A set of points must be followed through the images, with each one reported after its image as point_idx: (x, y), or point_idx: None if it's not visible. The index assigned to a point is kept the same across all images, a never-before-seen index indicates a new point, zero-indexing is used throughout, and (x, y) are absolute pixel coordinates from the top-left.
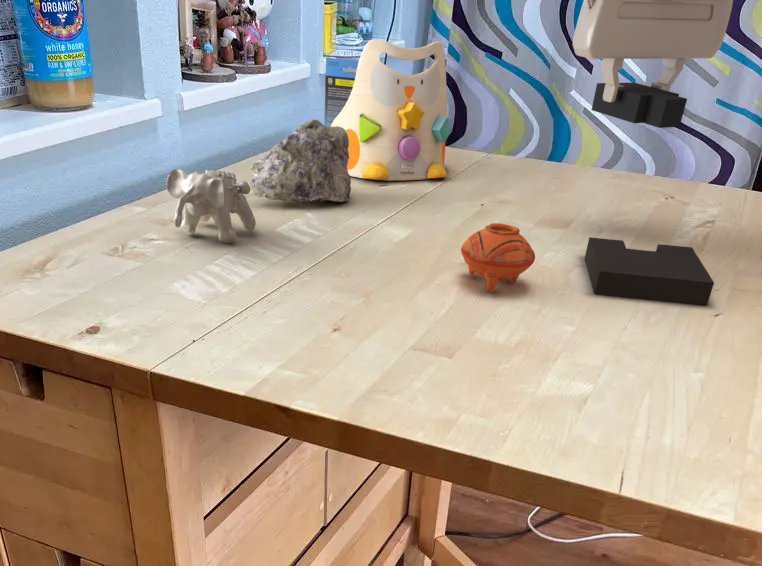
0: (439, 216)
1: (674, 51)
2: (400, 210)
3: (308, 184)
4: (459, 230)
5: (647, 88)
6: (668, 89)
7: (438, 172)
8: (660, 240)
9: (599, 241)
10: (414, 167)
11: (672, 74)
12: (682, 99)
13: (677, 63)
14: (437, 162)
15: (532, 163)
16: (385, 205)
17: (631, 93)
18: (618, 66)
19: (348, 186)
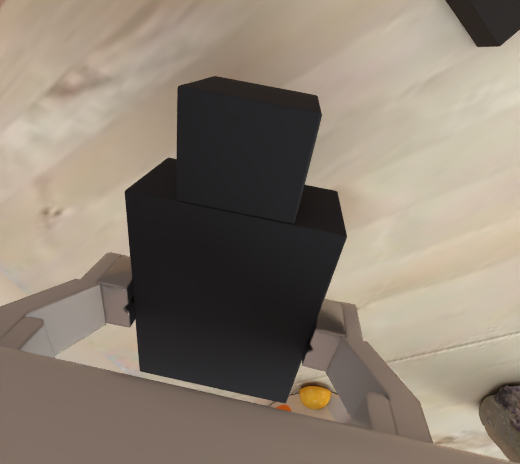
0: (457, 306)
1: (38, 385)
2: (477, 341)
3: None
4: (500, 257)
5: (179, 305)
6: (97, 269)
7: (320, 393)
8: (235, 56)
9: (516, 7)
10: (346, 410)
11: (56, 309)
12: (213, 90)
13: (18, 335)
14: (307, 408)
15: (145, 375)
16: (473, 360)
17: (329, 281)
18: (391, 408)
19: (512, 402)
